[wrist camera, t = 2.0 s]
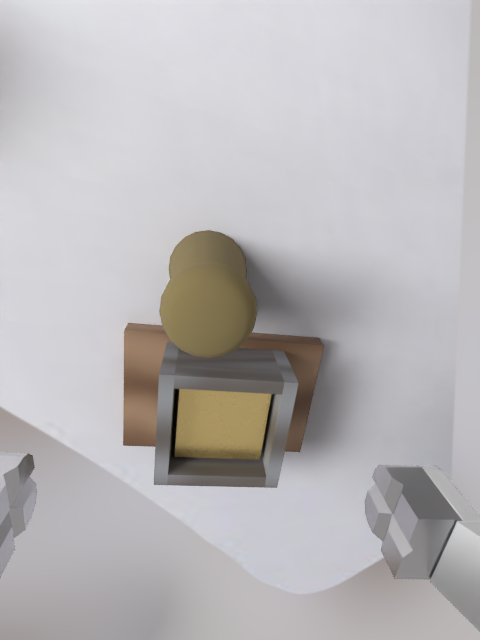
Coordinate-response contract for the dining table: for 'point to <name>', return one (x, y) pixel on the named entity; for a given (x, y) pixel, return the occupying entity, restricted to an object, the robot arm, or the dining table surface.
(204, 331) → the tan rounded piece
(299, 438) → the holder
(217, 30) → the dining table surface
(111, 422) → the dining table surface
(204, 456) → the spring seat
